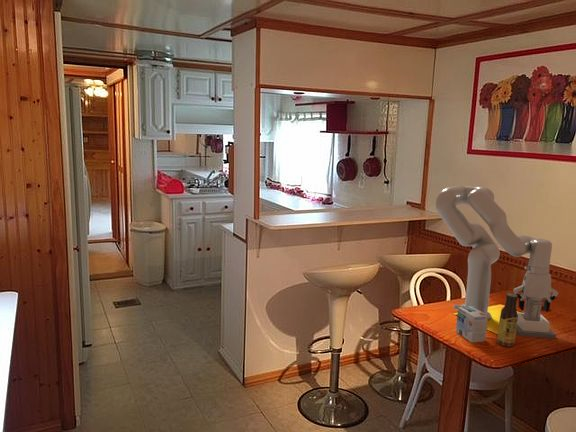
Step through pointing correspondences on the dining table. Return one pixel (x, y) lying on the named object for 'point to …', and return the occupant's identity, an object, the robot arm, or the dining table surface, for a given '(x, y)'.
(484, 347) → the dining table surface
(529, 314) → the energy drink can
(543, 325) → the board
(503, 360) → the dining table surface
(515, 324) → the sauce bottle
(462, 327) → the light bulb box
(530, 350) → the dining table surface
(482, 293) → the robot arm
